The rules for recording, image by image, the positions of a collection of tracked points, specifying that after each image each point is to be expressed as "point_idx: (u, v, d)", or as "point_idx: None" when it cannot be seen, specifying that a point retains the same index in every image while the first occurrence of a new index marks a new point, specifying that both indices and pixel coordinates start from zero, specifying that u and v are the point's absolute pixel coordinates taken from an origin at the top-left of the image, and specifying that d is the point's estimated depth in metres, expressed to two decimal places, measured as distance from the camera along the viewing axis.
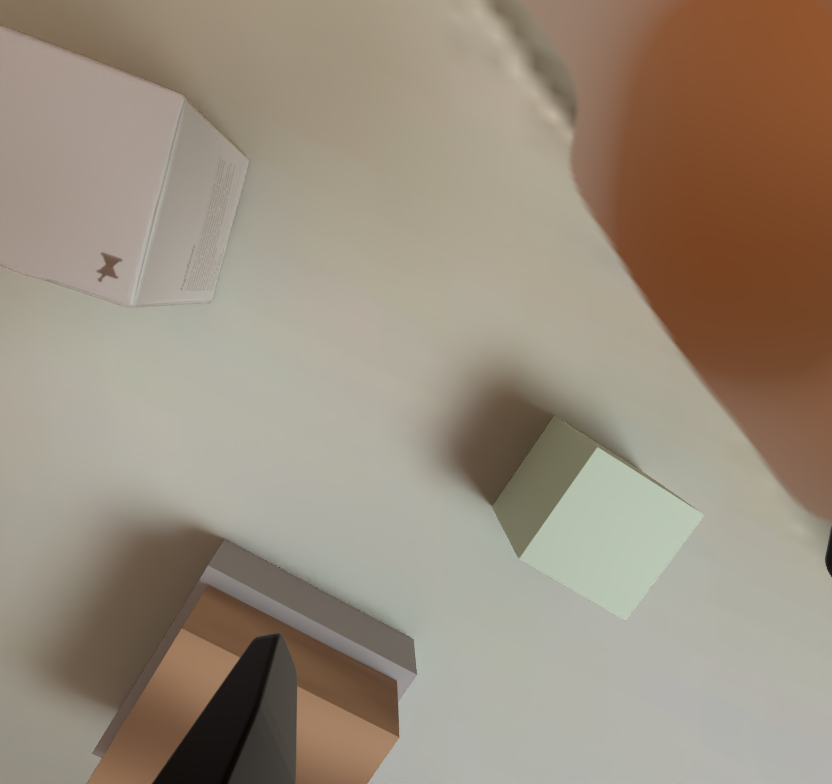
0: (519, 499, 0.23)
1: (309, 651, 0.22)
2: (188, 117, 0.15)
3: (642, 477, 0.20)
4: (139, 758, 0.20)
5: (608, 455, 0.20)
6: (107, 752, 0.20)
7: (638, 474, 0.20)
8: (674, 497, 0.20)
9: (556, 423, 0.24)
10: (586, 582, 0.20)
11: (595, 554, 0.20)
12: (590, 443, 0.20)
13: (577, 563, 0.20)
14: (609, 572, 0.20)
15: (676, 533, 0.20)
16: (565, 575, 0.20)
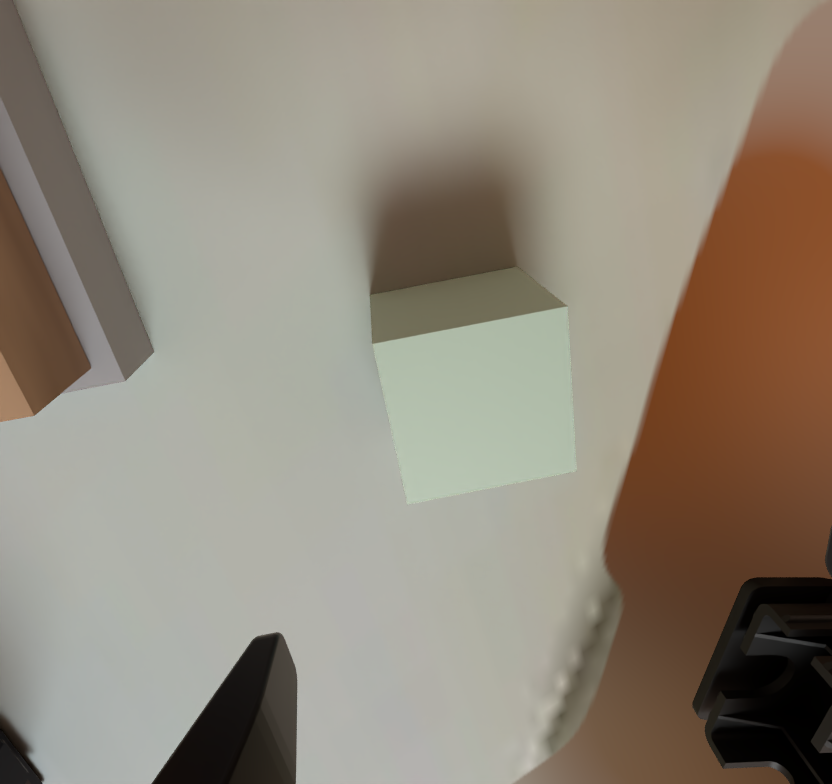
0: (414, 303, 0.16)
1: (2, 225, 0.13)
2: None
3: (569, 381, 0.15)
4: None
5: (566, 326, 0.14)
6: None
7: (569, 375, 0.15)
8: (572, 429, 0.15)
9: (515, 272, 0.18)
10: (411, 434, 0.15)
11: (449, 415, 0.15)
12: (557, 300, 0.14)
13: (423, 406, 0.14)
14: (442, 444, 0.15)
15: (537, 465, 0.16)
16: (399, 407, 0.14)
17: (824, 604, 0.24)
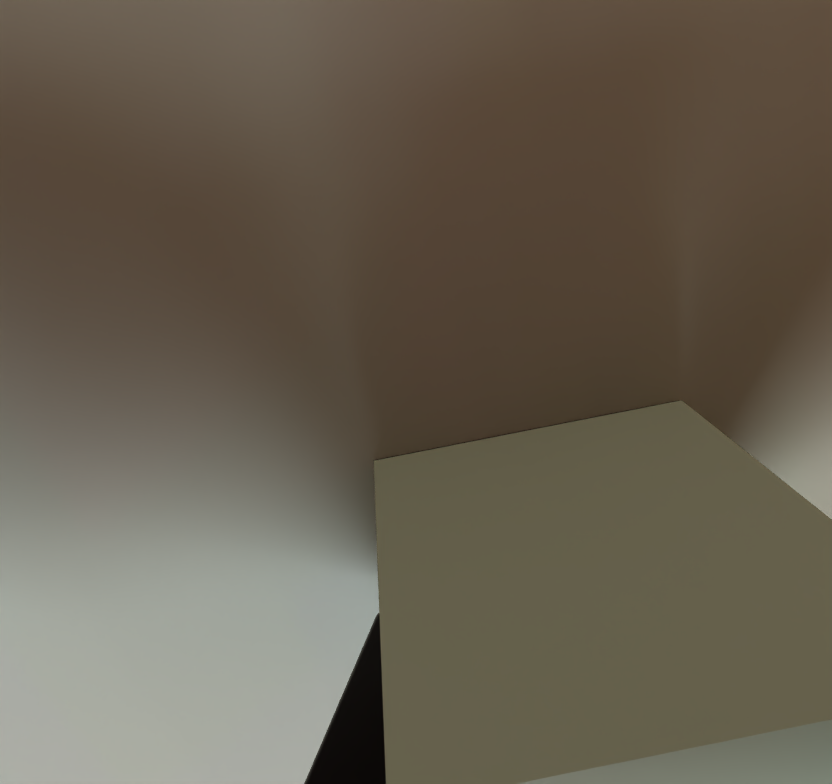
0: (483, 530, 0.07)
1: None
2: None
3: None
4: None
5: None
6: None
7: None
8: None
9: (694, 426, 0.08)
10: None
11: None
12: None
13: None
14: None
15: None
16: None
17: None
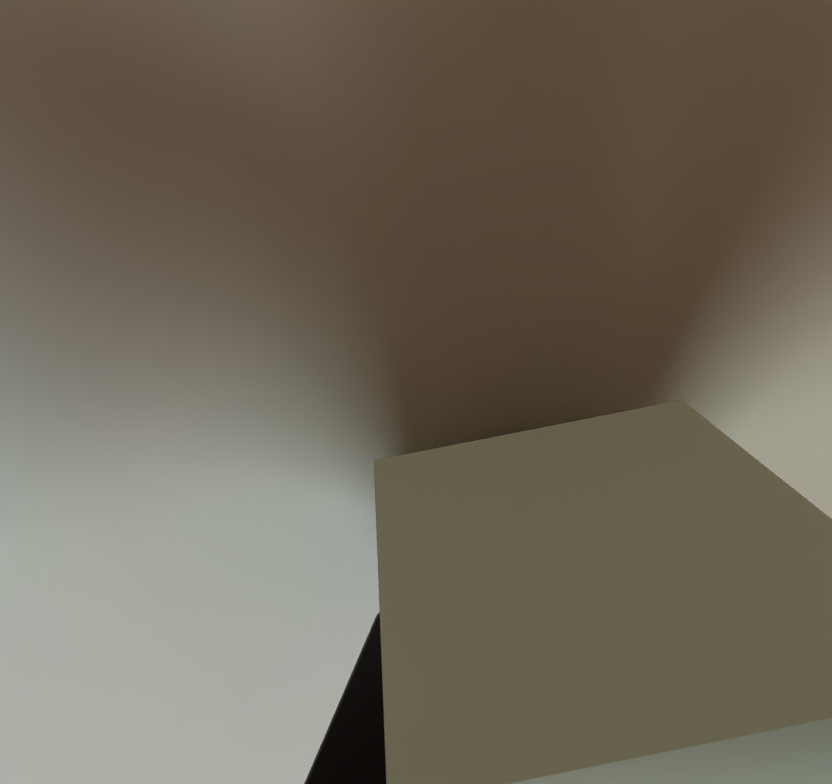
0: (483, 529, 0.07)
1: None
2: None
3: None
4: None
5: None
6: None
7: None
8: None
9: (694, 426, 0.08)
10: None
11: None
12: None
13: None
14: None
15: None
16: None
17: None
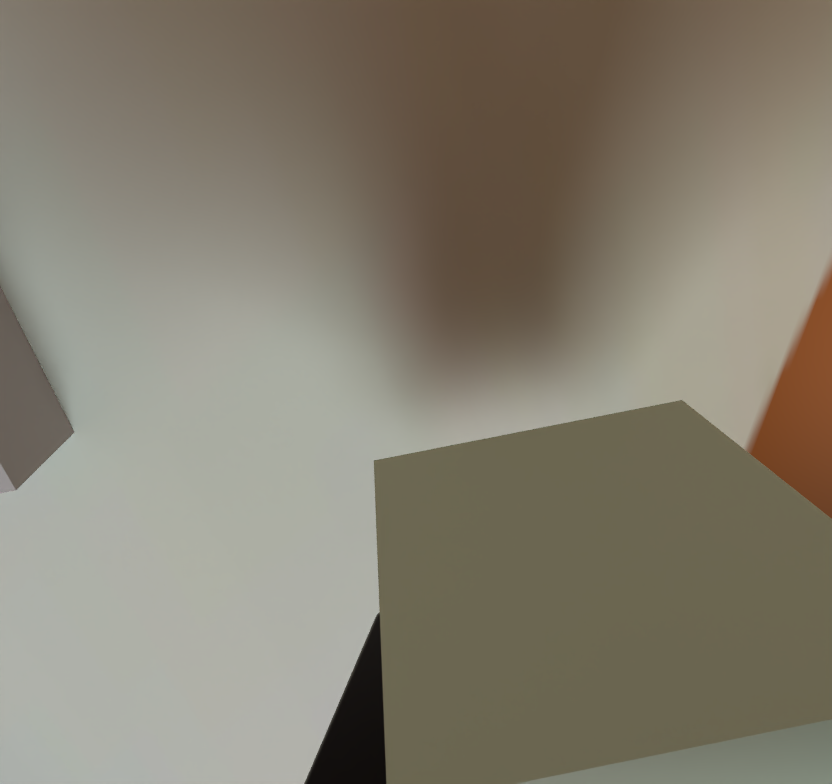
0: (484, 529, 0.07)
1: None
2: None
3: None
4: None
5: None
6: None
7: None
8: None
9: (695, 426, 0.08)
10: None
11: None
12: None
13: None
14: None
15: None
16: None
17: None
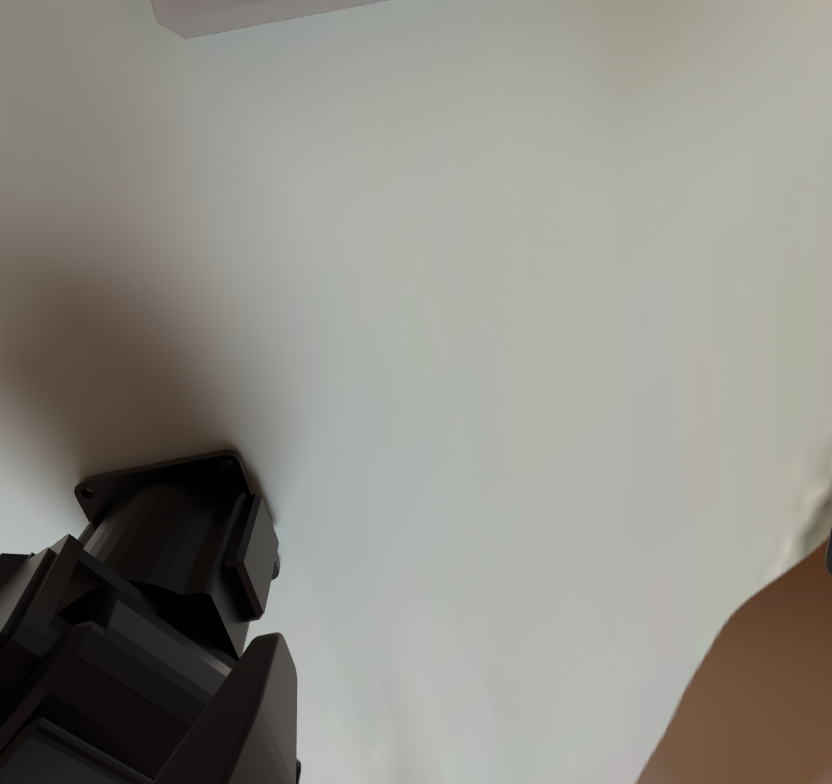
0: None
1: None
2: None
3: None
4: None
5: None
6: None
7: None
8: None
9: None
10: None
11: None
12: None
13: None
14: None
15: None
16: None
17: None
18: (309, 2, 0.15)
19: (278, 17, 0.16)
